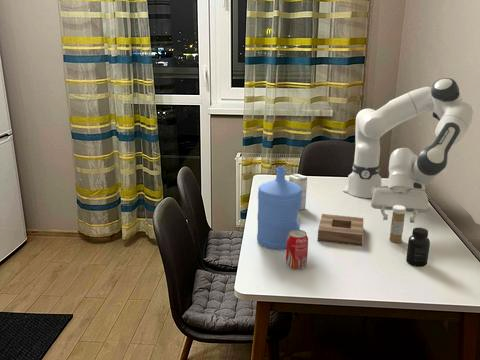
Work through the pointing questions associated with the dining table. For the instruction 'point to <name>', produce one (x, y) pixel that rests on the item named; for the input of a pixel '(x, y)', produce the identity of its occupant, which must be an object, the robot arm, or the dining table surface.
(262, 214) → the water jug
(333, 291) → the dining table surface
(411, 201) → the robot arm
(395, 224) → the sprinkles bottle
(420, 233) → the supplement bottle
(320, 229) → the socket block
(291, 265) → the soda can
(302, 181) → the syrup box
